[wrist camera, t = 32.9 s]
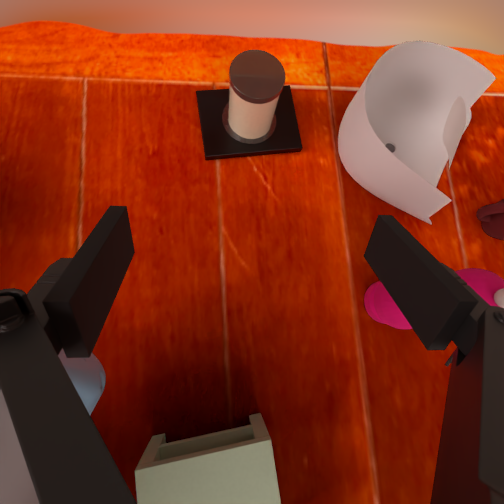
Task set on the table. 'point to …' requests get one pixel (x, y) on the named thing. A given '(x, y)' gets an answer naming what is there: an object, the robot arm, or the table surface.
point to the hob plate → (232, 145)
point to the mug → (493, 219)
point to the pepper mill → (389, 313)
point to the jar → (254, 92)
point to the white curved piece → (410, 123)
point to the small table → (210, 468)
